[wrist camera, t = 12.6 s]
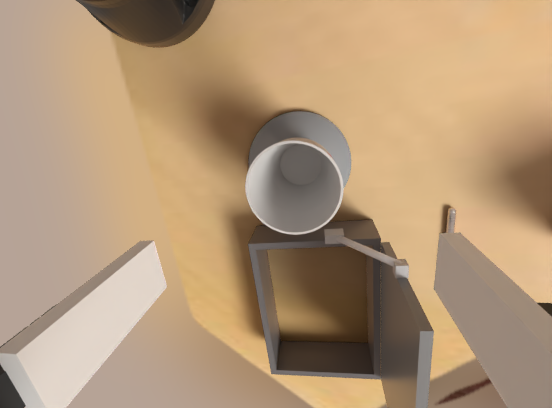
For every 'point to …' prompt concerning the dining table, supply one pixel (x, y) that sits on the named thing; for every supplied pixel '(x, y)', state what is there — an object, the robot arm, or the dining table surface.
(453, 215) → the rod
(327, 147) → the slate coaster
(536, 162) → the dining table surface
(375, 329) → the case
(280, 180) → the cup
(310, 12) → the dining table surface
